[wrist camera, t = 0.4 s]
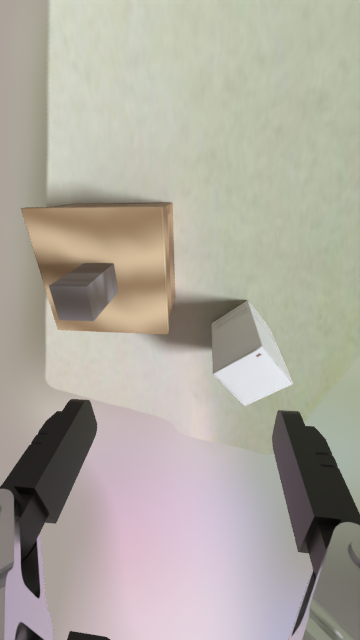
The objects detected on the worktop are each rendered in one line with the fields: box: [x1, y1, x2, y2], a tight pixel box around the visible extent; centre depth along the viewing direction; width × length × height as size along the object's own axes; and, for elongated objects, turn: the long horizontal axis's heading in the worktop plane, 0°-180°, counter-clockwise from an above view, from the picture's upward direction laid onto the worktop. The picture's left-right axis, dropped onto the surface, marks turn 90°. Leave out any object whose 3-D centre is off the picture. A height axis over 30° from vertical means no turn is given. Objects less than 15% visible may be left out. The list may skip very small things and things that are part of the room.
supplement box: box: [212, 300, 293, 406], centre depth 36 cm, size 7×7×13 cm
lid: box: [21, 206, 169, 334], centre depth 25 cm, size 15×15×8 cm
